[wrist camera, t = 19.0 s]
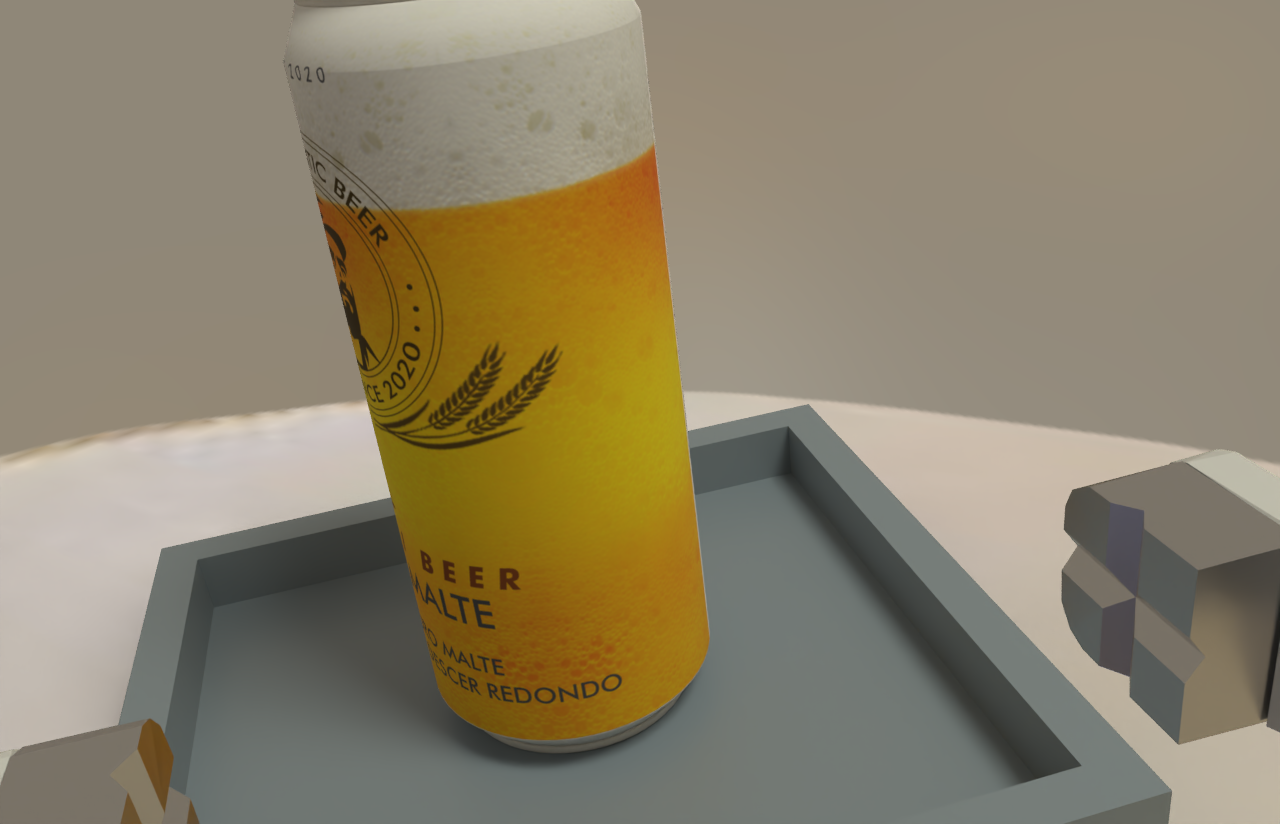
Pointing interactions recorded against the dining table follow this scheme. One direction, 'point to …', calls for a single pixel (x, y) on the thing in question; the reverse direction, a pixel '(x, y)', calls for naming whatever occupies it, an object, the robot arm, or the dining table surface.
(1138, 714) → the dining table surface
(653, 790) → the tray
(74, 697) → the dining table surface
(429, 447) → the beer can
